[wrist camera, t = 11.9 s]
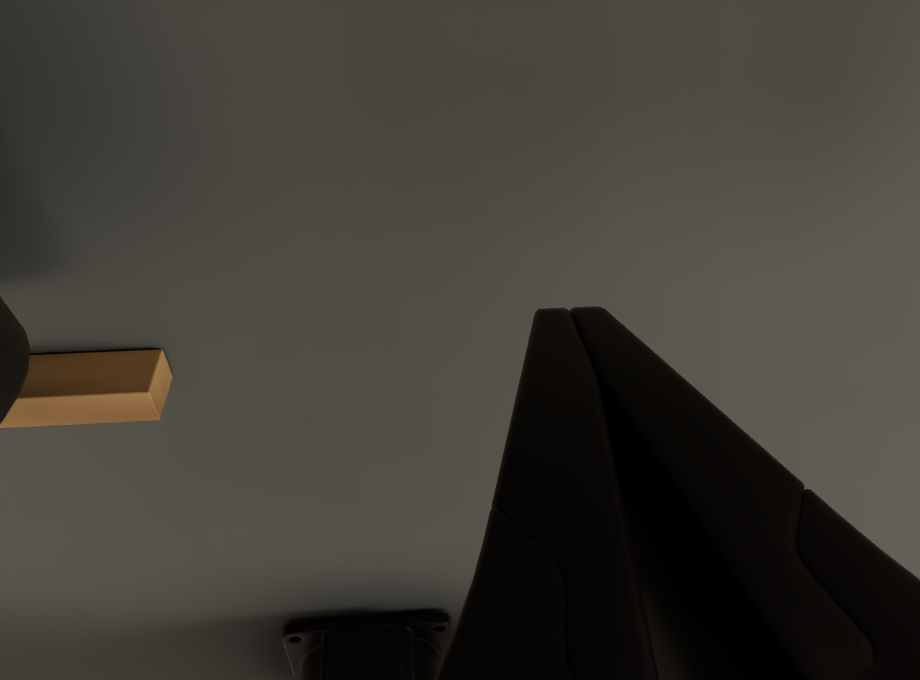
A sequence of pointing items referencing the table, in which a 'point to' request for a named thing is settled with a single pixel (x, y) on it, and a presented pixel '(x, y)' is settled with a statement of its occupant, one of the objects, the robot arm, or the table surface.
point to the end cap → (11, 359)
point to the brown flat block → (92, 389)
